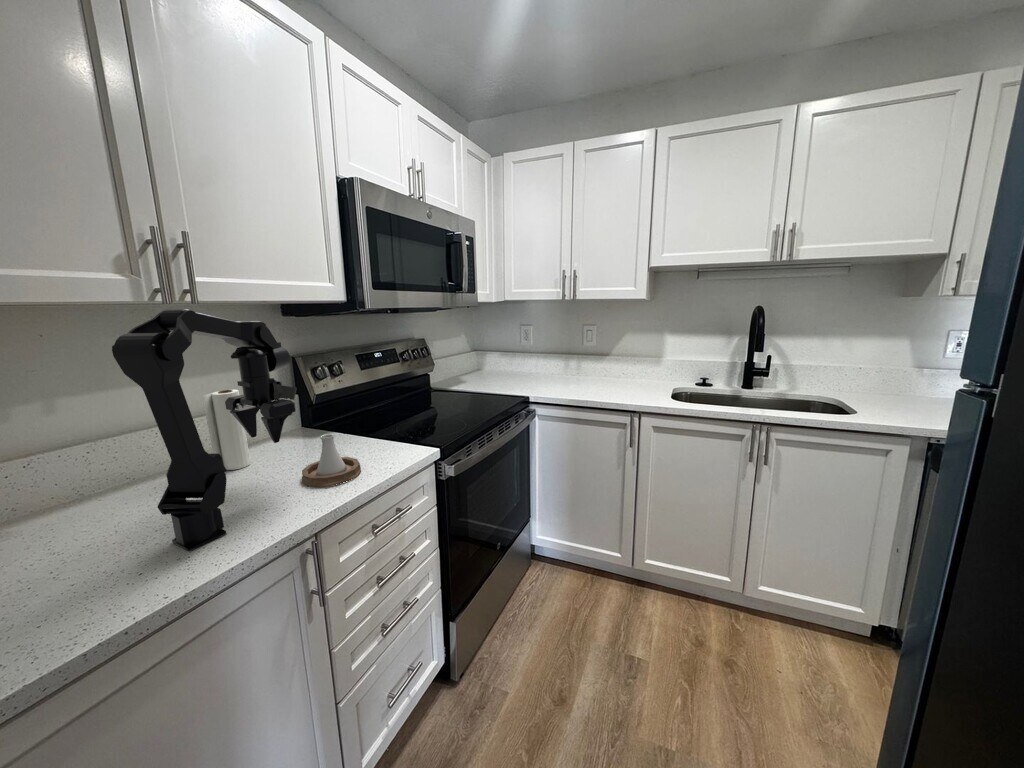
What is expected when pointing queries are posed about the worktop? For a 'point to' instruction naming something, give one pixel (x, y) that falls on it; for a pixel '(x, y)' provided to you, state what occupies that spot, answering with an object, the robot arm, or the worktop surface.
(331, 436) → the flask
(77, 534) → the worktop surface
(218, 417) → the paper towel roll
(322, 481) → the walnut collar
